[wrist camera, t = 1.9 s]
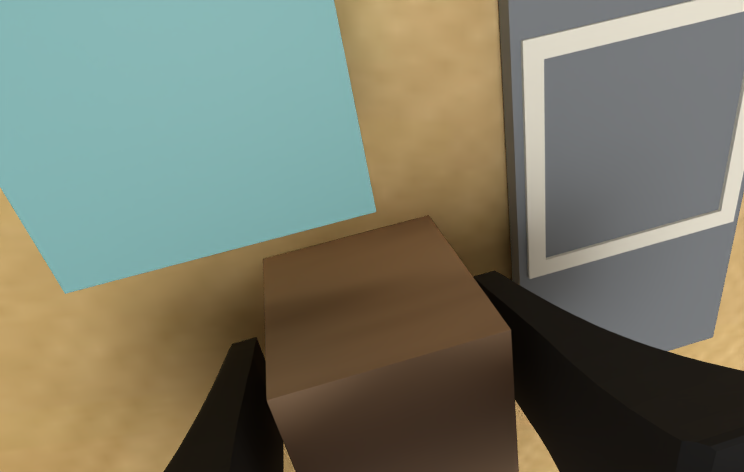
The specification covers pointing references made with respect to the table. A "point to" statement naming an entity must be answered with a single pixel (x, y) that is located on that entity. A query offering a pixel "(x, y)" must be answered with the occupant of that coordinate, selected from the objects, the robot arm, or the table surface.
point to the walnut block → (387, 357)
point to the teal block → (173, 129)
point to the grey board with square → (625, 158)
